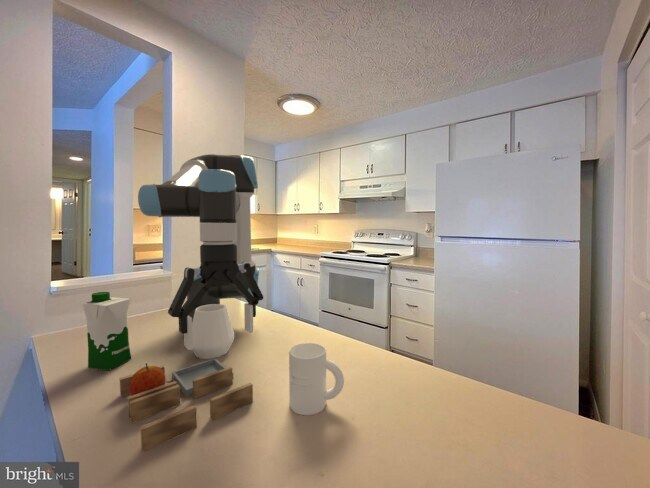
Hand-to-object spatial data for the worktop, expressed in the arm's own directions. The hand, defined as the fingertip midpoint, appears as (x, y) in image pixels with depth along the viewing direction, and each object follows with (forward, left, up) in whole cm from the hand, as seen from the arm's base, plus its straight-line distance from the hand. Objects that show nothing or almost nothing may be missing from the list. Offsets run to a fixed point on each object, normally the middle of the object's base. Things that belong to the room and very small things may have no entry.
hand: (220, 339), depth 64 cm
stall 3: (0, 0, -14) cm, 14 cm away
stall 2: (+12, 0, -14) cm, 18 cm away
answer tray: (0, -12, -14) cm, 18 cm away
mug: (-14, +16, -14) cm, 26 cm away
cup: (-8, -26, -14) cm, 31 cm away
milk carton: (+16, -38, -14) cm, 44 cm away
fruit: (+12, -12, -14) cm, 22 cm away
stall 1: (+12, -12, -14) cm, 22 cm away
